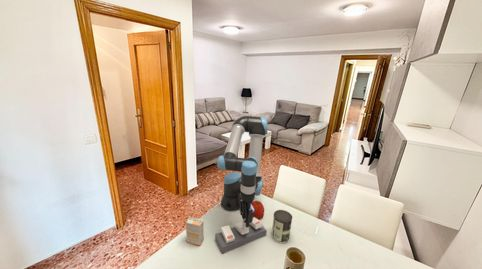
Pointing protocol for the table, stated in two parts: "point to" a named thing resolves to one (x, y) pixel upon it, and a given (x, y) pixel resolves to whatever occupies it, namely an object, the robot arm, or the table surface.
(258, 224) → the block
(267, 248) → the table surface
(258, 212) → the apple
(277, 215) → the coffee can
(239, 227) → the rocker
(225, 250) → the rocker switch panel
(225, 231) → the rocker
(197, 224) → the supplement box
